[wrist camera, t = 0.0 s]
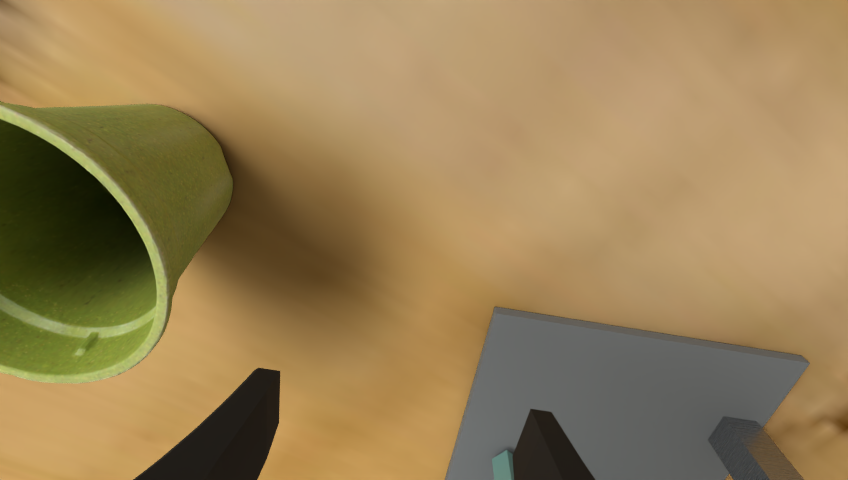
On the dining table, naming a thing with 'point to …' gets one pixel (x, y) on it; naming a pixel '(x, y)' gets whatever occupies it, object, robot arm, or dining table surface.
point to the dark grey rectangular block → (750, 451)
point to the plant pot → (98, 232)
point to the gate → (503, 466)
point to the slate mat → (615, 395)
